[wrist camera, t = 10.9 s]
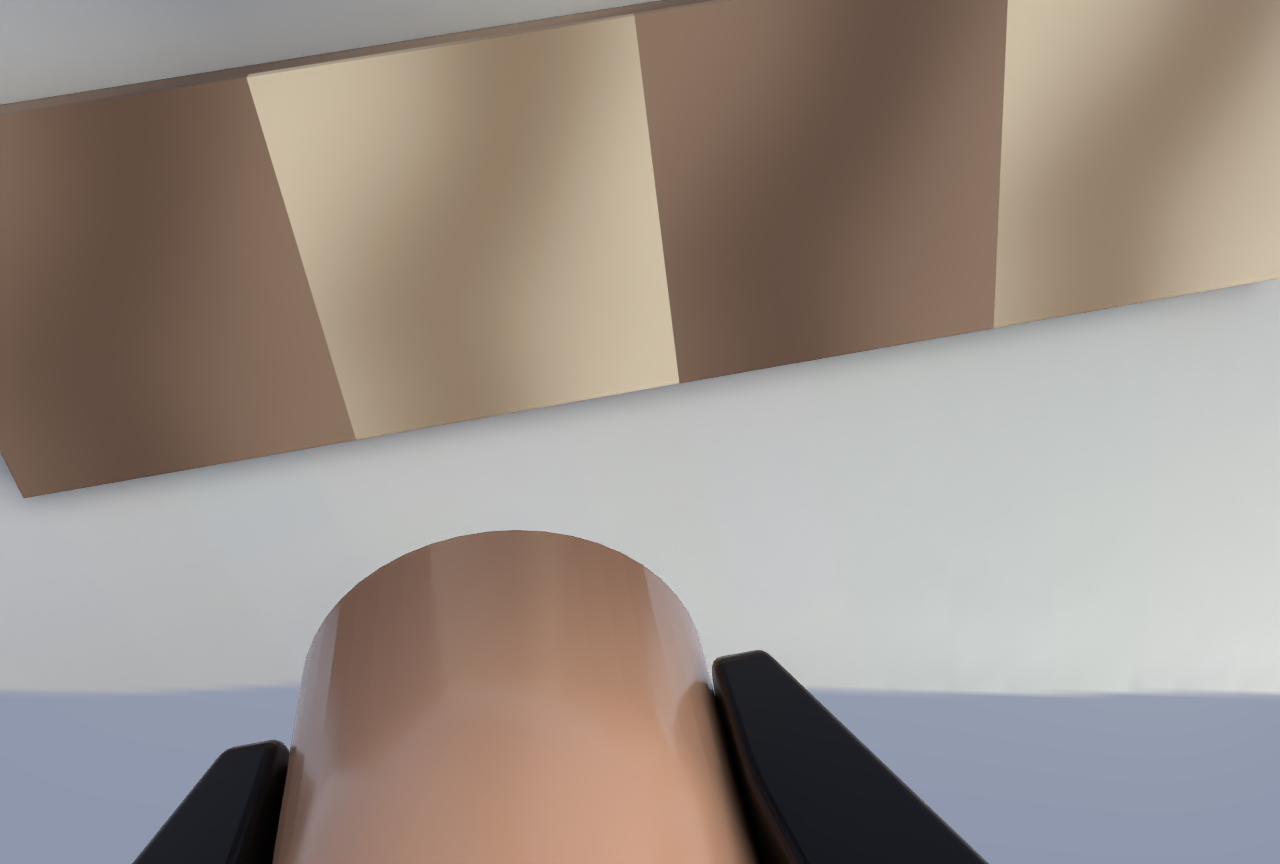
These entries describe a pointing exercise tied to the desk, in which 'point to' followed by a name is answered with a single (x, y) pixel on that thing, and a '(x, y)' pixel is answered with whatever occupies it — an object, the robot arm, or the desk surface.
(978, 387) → the desk surface
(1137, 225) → the track
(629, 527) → the desk surface
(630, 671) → the tan rounded peg
